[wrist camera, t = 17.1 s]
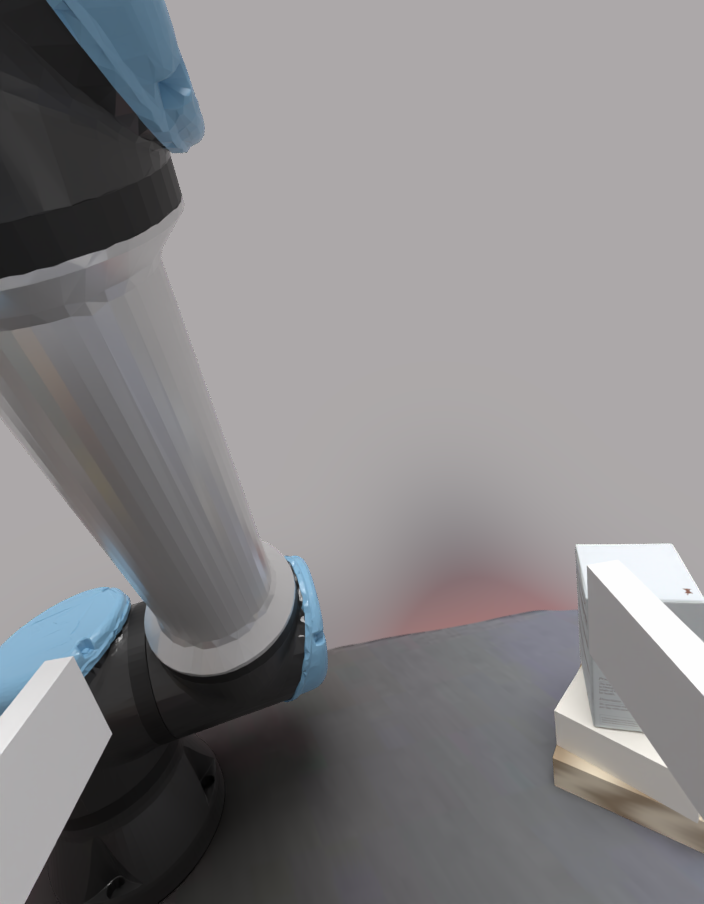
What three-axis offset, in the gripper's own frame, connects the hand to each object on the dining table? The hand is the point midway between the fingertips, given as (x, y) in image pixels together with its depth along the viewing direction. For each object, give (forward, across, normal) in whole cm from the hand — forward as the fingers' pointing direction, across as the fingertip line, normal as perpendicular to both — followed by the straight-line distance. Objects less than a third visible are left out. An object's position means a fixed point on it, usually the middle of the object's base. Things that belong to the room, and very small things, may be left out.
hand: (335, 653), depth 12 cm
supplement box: (+20, +20, -28) cm, 39 cm away
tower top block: (+19, +20, -32) cm, 42 cm away
